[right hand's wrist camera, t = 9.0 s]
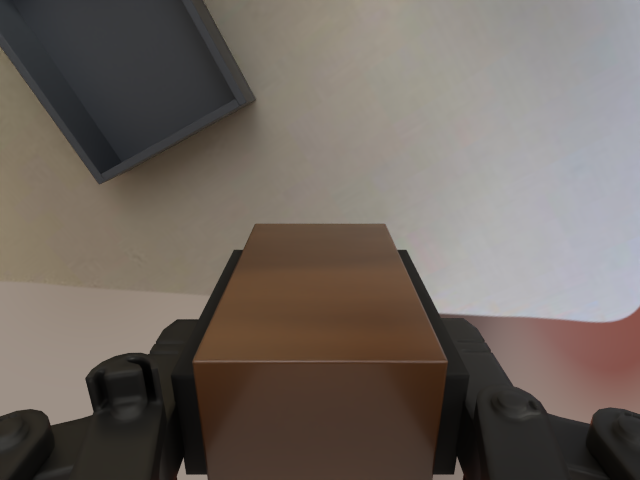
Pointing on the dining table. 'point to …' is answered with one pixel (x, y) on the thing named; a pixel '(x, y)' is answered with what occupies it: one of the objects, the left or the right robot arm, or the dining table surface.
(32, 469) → the right robot arm
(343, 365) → the walnut block
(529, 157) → the dining table surface
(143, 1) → the grey tray
